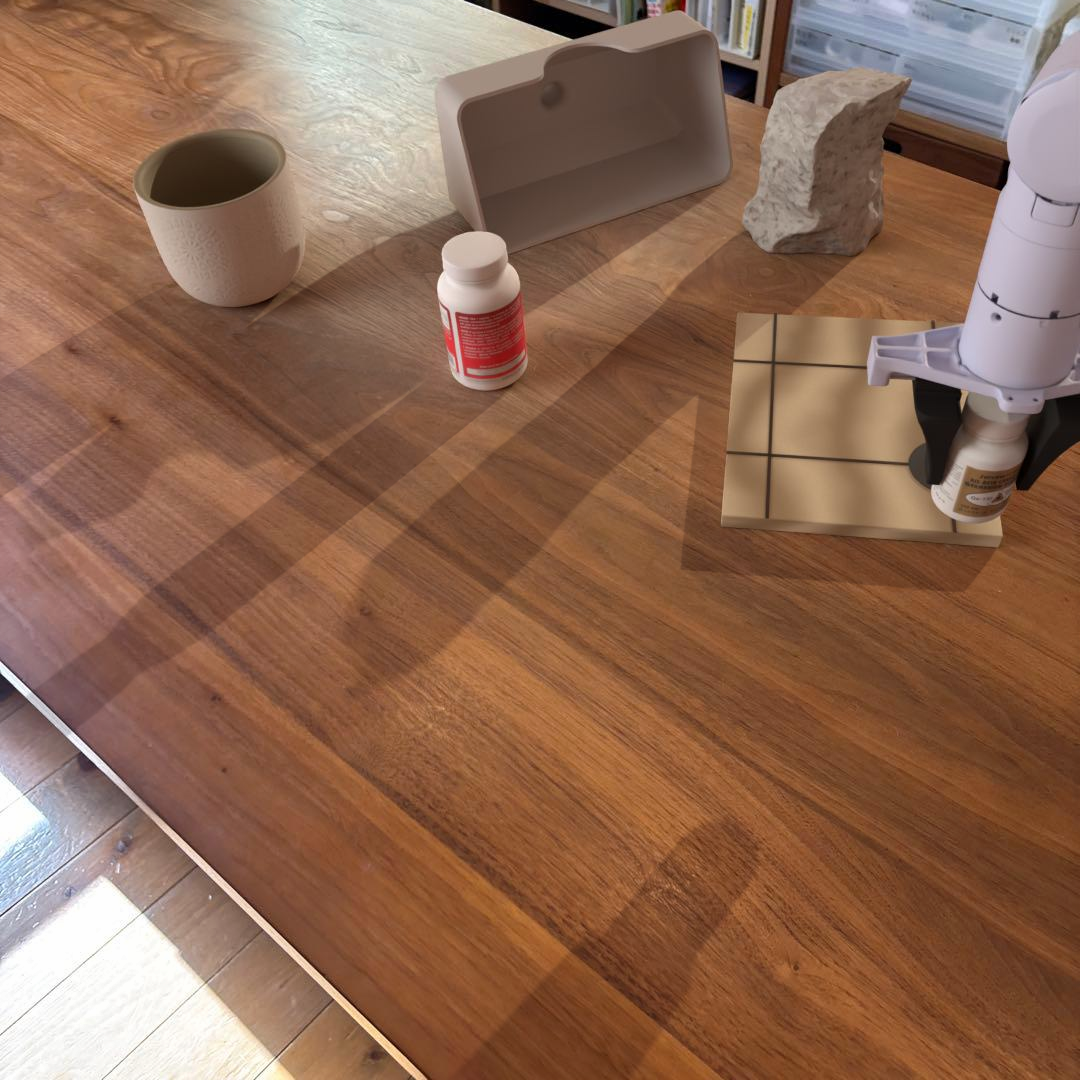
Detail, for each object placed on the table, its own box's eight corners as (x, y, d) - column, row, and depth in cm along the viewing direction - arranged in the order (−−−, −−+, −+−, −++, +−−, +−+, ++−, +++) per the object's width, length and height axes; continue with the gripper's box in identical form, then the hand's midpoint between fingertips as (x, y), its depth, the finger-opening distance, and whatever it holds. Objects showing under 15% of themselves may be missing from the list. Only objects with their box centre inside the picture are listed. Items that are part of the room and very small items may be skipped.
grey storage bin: (650, 106, 113) (651, -21, 104) (734, 178, 103) (744, 45, 94) (424, 176, 107) (403, 48, 98) (490, 260, 97) (474, 126, 88)
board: (969, 335, 87) (973, 322, 86) (998, 548, 72) (1003, 535, 71) (736, 324, 89) (737, 311, 88) (720, 527, 75) (721, 514, 74)
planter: (174, 334, 93) (129, 221, 85) (175, 252, 102) (135, 141, 93) (320, 308, 94) (290, 194, 86) (310, 228, 103) (282, 117, 94)
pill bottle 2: (961, 536, 65) (993, 440, 59) (914, 488, 68) (940, 392, 62) (1022, 510, 66) (1059, 413, 60) (973, 464, 69) (1004, 367, 63)
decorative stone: (824, 191, 101) (846, 31, 90) (896, 237, 96) (928, 72, 85) (734, 230, 98) (746, 69, 87) (803, 280, 93) (824, 115, 82)
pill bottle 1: (544, 362, 88) (534, 243, 80) (491, 404, 85) (476, 285, 77) (486, 333, 91) (471, 214, 82) (434, 372, 88) (413, 254, 80)
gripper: (890, 328, 54) (850, 517, 64) (1214, 341, 51) (1118, 535, 62) (883, 243, 58) (847, 432, 68) (1181, 252, 56) (1097, 446, 66)
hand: (975, 475), depth 65 cm, fingers closed on pill bottle 2, 4 cm apart
